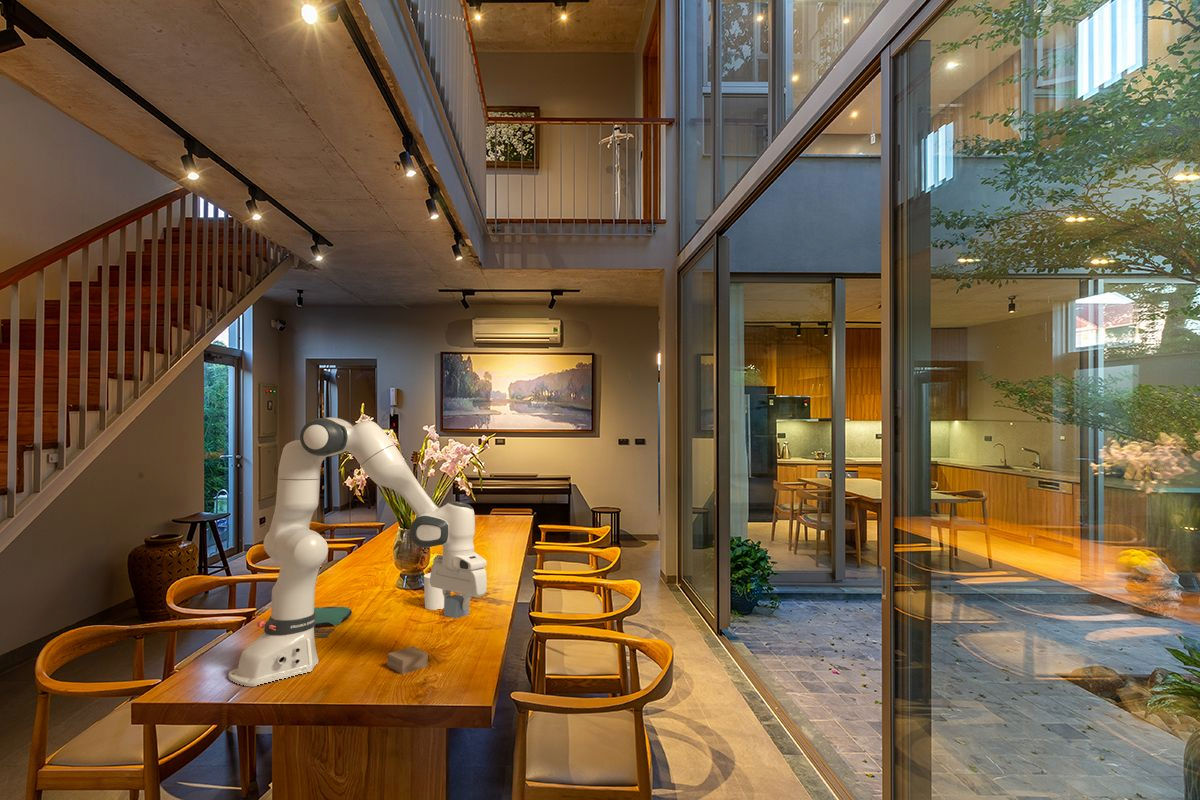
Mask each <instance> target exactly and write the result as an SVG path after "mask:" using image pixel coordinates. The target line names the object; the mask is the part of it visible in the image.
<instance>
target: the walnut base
mask: <svg viewBox="0 0 1200 800" xmlns="http://www.w3.org/2000/svg"><path fill="white" fill-rule="evenodd" d="M428 662H429V653H428V652H426V651H424V650H422V649H419V648H417V647H415V646H409V647H407V648H403V649H399V650H395V651H392V652H389V653H387V661H386V663H387V665H386V667H387V668H388V667H389V668H388V669H390V668H391V669H390V670H393V671H394V670H395V671H394V672H397V673H398V674H400V673H401V674H400V675H402V674H403V675H406V674H409V673H412V672H414V671H417V670H422V669H424V668H428V667H427V666H428V664H429V663H428Z"/></svg>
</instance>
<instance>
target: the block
mask: <svg viewBox="0 0 1200 800" xmlns="http://www.w3.org/2000/svg"><path fill="white" fill-rule="evenodd" d="M463 601H464V598H463V594H460V593H455V594H452V595H451V596H448V597H444V609H443V616H446V617H449V618H452V619H458V618H461V617H465V616H468V615H470V602H469V603H468V609H467V610H462V609H460V607H461V606H460V603H463Z"/></svg>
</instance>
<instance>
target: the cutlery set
mask: <svg viewBox="0 0 1200 800" xmlns="http://www.w3.org/2000/svg"><path fill="white" fill-rule="evenodd" d="M314 612H315V613H316V622H315V630H314V637H320V638H325V637H327V638H329V634H332V631H333V630H334V631H335V628H328V629H327V628H318V627H320V626H327V625H333V626H334V627H336V626H335V625H337V626H339V625H340V624H341V623H342V621H345V620H347V619H348V618H349V617H351V615H352V614H353V612H352V609H351V608H350V607H349V608H348V607H346V606H325V607H324V606H323V607H318V606H316V607H315V606H314ZM316 627H317V628H316ZM315 634H317V635H315Z"/></svg>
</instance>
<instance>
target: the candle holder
mask: <svg viewBox="0 0 1200 800" xmlns="http://www.w3.org/2000/svg"><path fill="white" fill-rule="evenodd" d="M430 575H431V572H428V573H425V574H424V575H423V592H424V594H423V596H424V597H423V598H424V608H425V610H428V609H429V610H428V611H438V610H437V609H441V610H444V609H443V608H444V596H443V593H442V589H439V588H435V587H432V586H431V584H430Z"/></svg>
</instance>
